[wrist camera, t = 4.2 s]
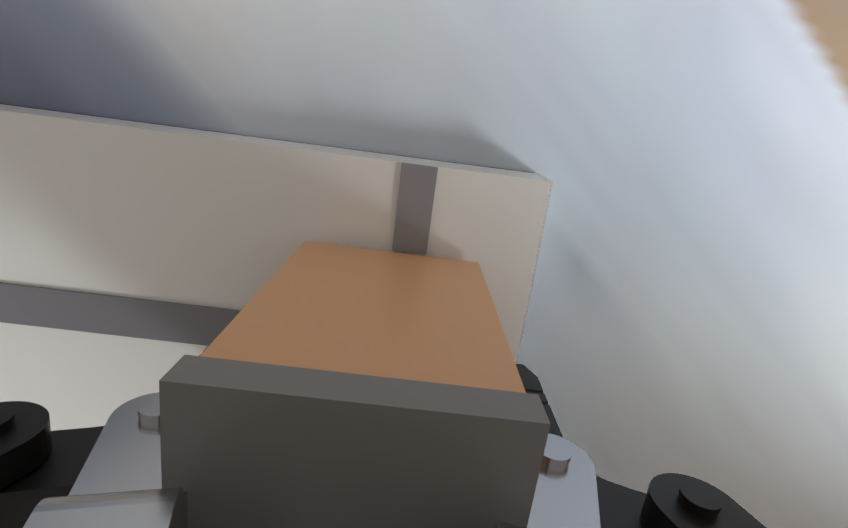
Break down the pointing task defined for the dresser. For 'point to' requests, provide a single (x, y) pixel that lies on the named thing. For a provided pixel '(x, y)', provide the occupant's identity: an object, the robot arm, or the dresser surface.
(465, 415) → the fader knob
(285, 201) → the fader plate
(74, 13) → the dresser surface
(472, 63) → the dresser surface
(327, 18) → the dresser surface
